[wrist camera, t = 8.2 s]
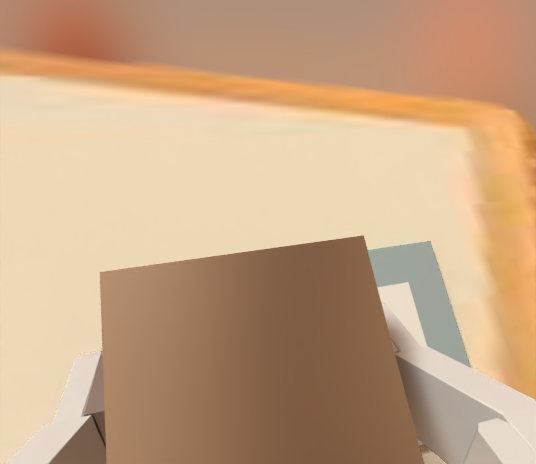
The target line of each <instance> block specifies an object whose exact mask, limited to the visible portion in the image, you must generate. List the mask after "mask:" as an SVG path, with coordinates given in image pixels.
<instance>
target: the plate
mask: <svg viewBox="0 0 536 464" xmlns="http://www.w3.org/2000/svg"><path fill="white" fill-rule="evenodd" d="M367 251H368V254H369V258H370V262H371V266H372V269H373V273H374V277H375V281H376V284H377V288H378V292H379V296H380V300H381V301H382V302H384V303H386V304H387V306H388V307H389V308H390V309H391V310H392V312H393V313H394V314H395V315H396V317H397V318H398V319H399V320H400V321H401V323H402V324H403V325H404V326H405V328H406V329H407V330H408V331H409V332H410V334H411V335H412V336H413V337H414V339H415V340H416V341H417V342H418V343H419V345H420V346H421V347H427V346H428V347H430V348H432V349H434V350H436V351H438V352H440V353H442V354H444V355H446V356H448V357H450V358H452V359H454V360H456V361H458V362H460V363H462V364H464V365H466V366H468V367H470V364H469V361H468V358H467V355H466V351H465V348H464V345H463V342H462V339H461V336H460V333H459V330H458V326H457V323H456V320H455V317H454V314H453V311H452V308H451V304H450V301H449V298H448V295H447V292H446V289H445V286H444V283H443V279H442V276H441V273H440V270H439V267H438V264H437V261H436V258H435V254H434V251H433V248H432V245H431V242H430V241H427V242H420V243H414V244H407V245H400V246H393V247H387V248H380V249H373V250H367ZM470 368H471V367H470ZM418 443H419V446H420V445H423V443H422V442H420V441H419V440H418Z"/></svg>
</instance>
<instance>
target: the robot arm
mask: <svg viewBox="0 0 536 464" xmlns="http://www.w3.org/2000/svg"><path fill="white" fill-rule="evenodd" d="M381 303H382V307H383V311H384V315H385V318H386V322H387V326H388V330H389V334H390V337H391V341H392V345H393V349H394V352H395V356H396V360H397V364H398V367H399V371H400V375H401V379H402V383H403V386H404V390H405V394H406V398H407V401H408V405H409V409H410V413H411V416H412V420H413V424H414V428H415V432H416V435H417V439H418V440H419V441H420V442H422V443H423V444H424V445H425V446H427V447H428V448H429V449H430V450H431V451H433V452H434V453H435V454H436V455H438V456H439V457H440V458H441V459H442V460H444V461H445V462H446V463H447V464H536V400H534V399H532V398H530V397H528V396H526V395H524V394H522V393H520V392H518V391H516V390H514V389H512V388H510V387H508V386H506V385H504V384H502V383H500V382H498V381H496V380H494V379H492V378H490V377H488V376H486V375H484V374H482V373H480V372H478V371H476V370H474V369H472V368H470V367H468V366H466V365H464V364H462V363H460V362H458V361H456V360H454V359H452V358H450V357H448V356H446V355H444V354H442V353H440V352H438V351H436V350H434V349H432V348H430V347H428V346H427V347H421V346H420V345H419V343H418V342H417V341H416V340H415V339H414V337H413V336H412V335H411V334H410V332H409V331H408V330H407V329H406V328H405V326H404V325H403V324H402V323H401V321H400V320H399V319H398V318H397V317H396V315H395V314H394V313H393V312H392V310H391V309H390V308H389V307H388V306H387V304H386V303H384V302H382V301H381ZM5 464H107V463H106V434H105V405H104V375H103V351H97V352H90V353H83V354H80V355H79V356H78V357H77V358H76V359H75V361H74V364H73V367H72V370H71V372H70V375H69V378H68V381H67V383H66V386H65V389H64V392H63V394H62V397H61V400H60V402H59V405H58V408H57V411H56V413H55V416H54V419H53V422H52V423H49V424H45V425H43V426H42V427H41V428H40V429H39V430H38V431H37V432H36V433H35V434H34V435H33V436H32V437H31V438H30V439H29V440H28V441H27V442H26V443H25V444H24V445H23V446H22V447H21V448H20V449H19V450H18V451H17V452H16V453H15V454H14V455H13V456H12V457H11V458H10V459H9V460H8V461H7V462H6V463H5Z"/></svg>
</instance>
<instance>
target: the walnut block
mask: <svg viewBox="0 0 536 464" xmlns="http://www.w3.org/2000/svg"><path fill="white" fill-rule="evenodd" d="M100 288H101V317H102V346H103V375H104V405H105V434H106V463H107V464H424V462H423V458H422V454H421V450H420V447H419V443H418V439H417V435H416V432H415V428H414V424H413V420H412V416H411V413H410V409H409V405H408V401H407V398H406V394H405V390H404V386H403V383H402V379H401V375H400V371H399V367H398V364H397V360H396V356H395V352H394V349H393V345H392V341H391V337H390V334H389V330H388V326H387V322H386V318H385V315H384V311H383V307H382V303H381V300H380V296H379V292H378V288H377V284H376V281H375V277H374V273H373V269H372V266H371V262H370V258H369V254H368V251H367V247H366V243H365V239H364V236H357V237H350V238H343V239H336V240H328V241H321V242H314V243H307V244H300V245H292V246H285V247H278V248H271V249H264V250H256V251H249V252H242V253H235V254H228V255H221V256H213V257H206V258H199V259H192V260H185V261H177V262H170V263H163V264H156V265H149V266H141V267H134V268H127V269H120V270H113V271H106V272H100Z"/></svg>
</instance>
